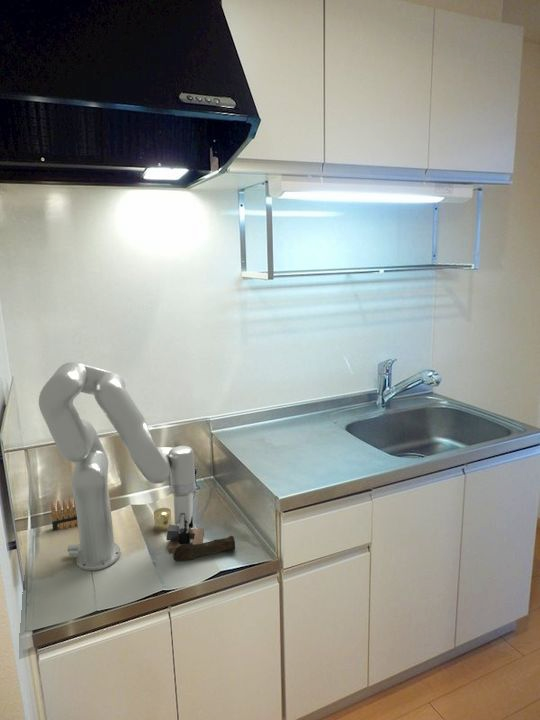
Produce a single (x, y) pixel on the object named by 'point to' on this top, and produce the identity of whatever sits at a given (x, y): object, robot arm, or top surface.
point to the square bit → (174, 532)
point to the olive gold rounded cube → (162, 519)
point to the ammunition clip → (63, 515)
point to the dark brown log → (203, 548)
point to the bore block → (194, 533)
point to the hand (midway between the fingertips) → (186, 535)
